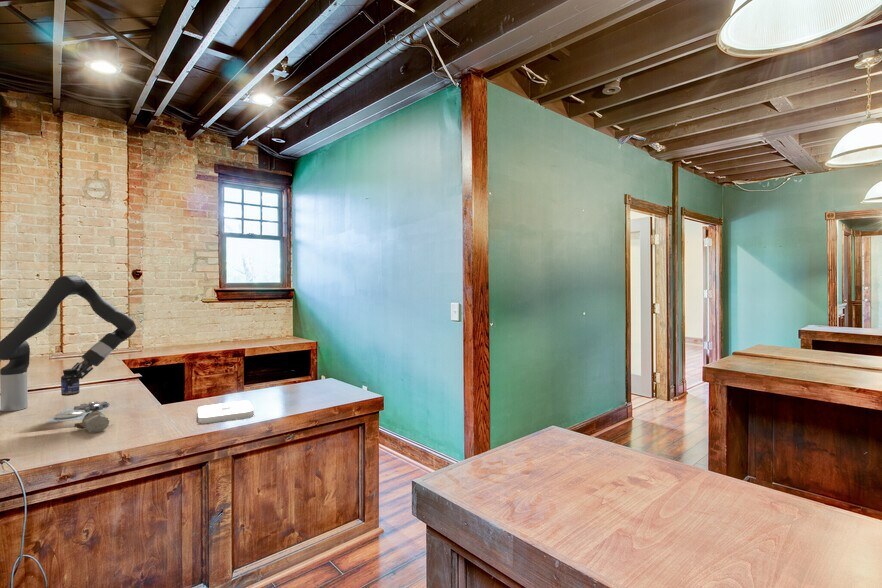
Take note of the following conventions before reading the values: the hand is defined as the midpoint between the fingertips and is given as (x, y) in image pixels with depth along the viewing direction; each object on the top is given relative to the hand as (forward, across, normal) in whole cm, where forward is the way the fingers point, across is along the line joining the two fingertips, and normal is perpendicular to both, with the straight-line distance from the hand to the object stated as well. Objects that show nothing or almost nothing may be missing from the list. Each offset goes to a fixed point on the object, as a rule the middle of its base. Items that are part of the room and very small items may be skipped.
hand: (65, 384), depth 187 cm
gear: (+2, -7, +18) cm, 19 cm away
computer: (-19, +50, +42) cm, 68 cm away
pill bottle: (+2, 0, +5) cm, 5 cm away
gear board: (+7, -2, +15) cm, 17 cm away
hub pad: (+9, 0, +11) cm, 14 cm away
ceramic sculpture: (+10, +27, +13) cm, 31 cm away
